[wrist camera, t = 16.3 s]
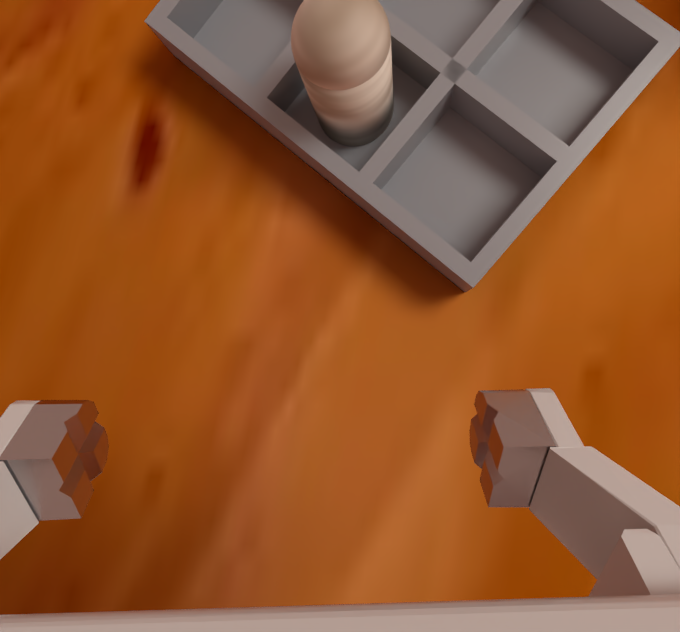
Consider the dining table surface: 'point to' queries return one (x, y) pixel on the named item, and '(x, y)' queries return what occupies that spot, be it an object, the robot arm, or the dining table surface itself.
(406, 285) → the dining table surface
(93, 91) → the dining table surface
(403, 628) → the robot arm
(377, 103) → the egg
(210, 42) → the gray compartment tray
